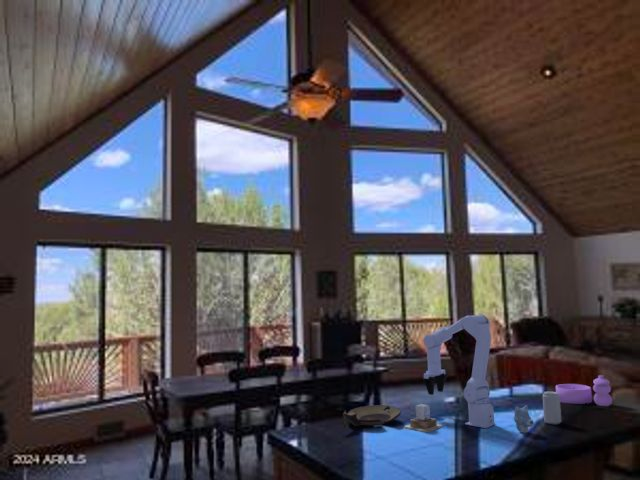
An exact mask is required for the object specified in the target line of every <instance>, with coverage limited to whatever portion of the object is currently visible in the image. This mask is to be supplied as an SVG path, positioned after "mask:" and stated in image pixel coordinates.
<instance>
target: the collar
mask: <svg viewBox="0 0 640 480" xmlns="http://www.w3.org/2000/svg"><path fill="white" fill-rule="evenodd" d="M437 421H438V420H437V418H434V417H433V418H432V417H430V420H429V421H426V422H423V421H417V420H416V417H414V418H412V419H409V424H407V425H405V426H404V429H408V430H414V431H418V432H422V433H430V432H432V431H435V430H438V429H441V428H444V426H443V424H439V423H438V422H437Z"/></svg>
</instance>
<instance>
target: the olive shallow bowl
mask: <svg viewBox="0 0 640 480" xmlns="http://www.w3.org/2000/svg"><path fill="white" fill-rule="evenodd" d="M401 413H402V410H401V409H400V408H399V407H396V406H395V405H389V404H388V405H387V404H377V405H376V404H375V405H365V406H359V407H356V408H353V409H351V410H349V411H348V412H347V413H346V412H343V413H342V417H344V418H345V419H346V420H347V421H349V422H350V424H352V425H353V426H355V427H358V426H365V427H366V426H369V427H371V426H372V427H373V426H380V425H384V424H388V423H391V422H392V421H394V420H396V419H397V418H399V417H400V415H401Z"/></svg>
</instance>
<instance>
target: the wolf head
mask: <svg viewBox="0 0 640 480" xmlns="http://www.w3.org/2000/svg"><path fill="white" fill-rule="evenodd" d="M513 420H514V423H515V427H516V430H518V432H520V433H523V434H527V433H528V431H529V428H531V427H533V426H534V425H535V422H534V421H533V419H532V418H531V416H530V413H529V409H528V405H527V404H526V405H524V406H523V407H520V406H515V408H514V416H513Z"/></svg>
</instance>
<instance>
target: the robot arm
mask: <svg viewBox="0 0 640 480" xmlns="http://www.w3.org/2000/svg"><path fill="white" fill-rule="evenodd" d="M490 326H491V321H490V320H489V319H488V317H487V316H486V315H484V314H480V313H479V314H477V315H466V316H463V317H461V318H460V319H459V320H457V321H456V322H454V323H453V324H452V325H450V326H448V327H447V326H440V327H439V329H438V330H436V331H433V332H432V334H426V335H425V336H424V338H423V343H424V346H425V348H426V357H427V359H426V360H427V370H426V371H425V373H423V377H422V381H423V382H424V385H425V387H426V390H427V393H428V395H431V396H433V395H434V392H435V390H434V389H435V383H436V389H437V392H440V393H442V392H444V386H445V382H446V380H447V378H448V375H447V374H446V369H442V362H441V350H442V345H443V344H444V343H445V342H447V341H449V340H451V339H452V338H453V334H456V333H459V332H460V331H462V330H465V331H466V332H467V333H468V334H469V335H471V336H472V337H473V338H474V339H475V341H476V342H475V348H474V349H475V350H474V356H473V362H472V371H471V377H470V379H468V380H467V382H466V386H465V387H464V389H463V397H464V399H465V400H466V402H467V406H468V407H467V409H468V421H467V422H465V423H464V424H465V425H467V426H472V427H478V428H483V429H487V428H489V427H492V426H495V425H496V422H495V411H494V406H493V405H492V404H491V403H488V398H490V394H491V393H490V387H489V386H490V383H489V382H488V381H487V380H486V379H487V370H488V364H489V356H490V349H491V342H492V335H491V331H490Z"/></svg>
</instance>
